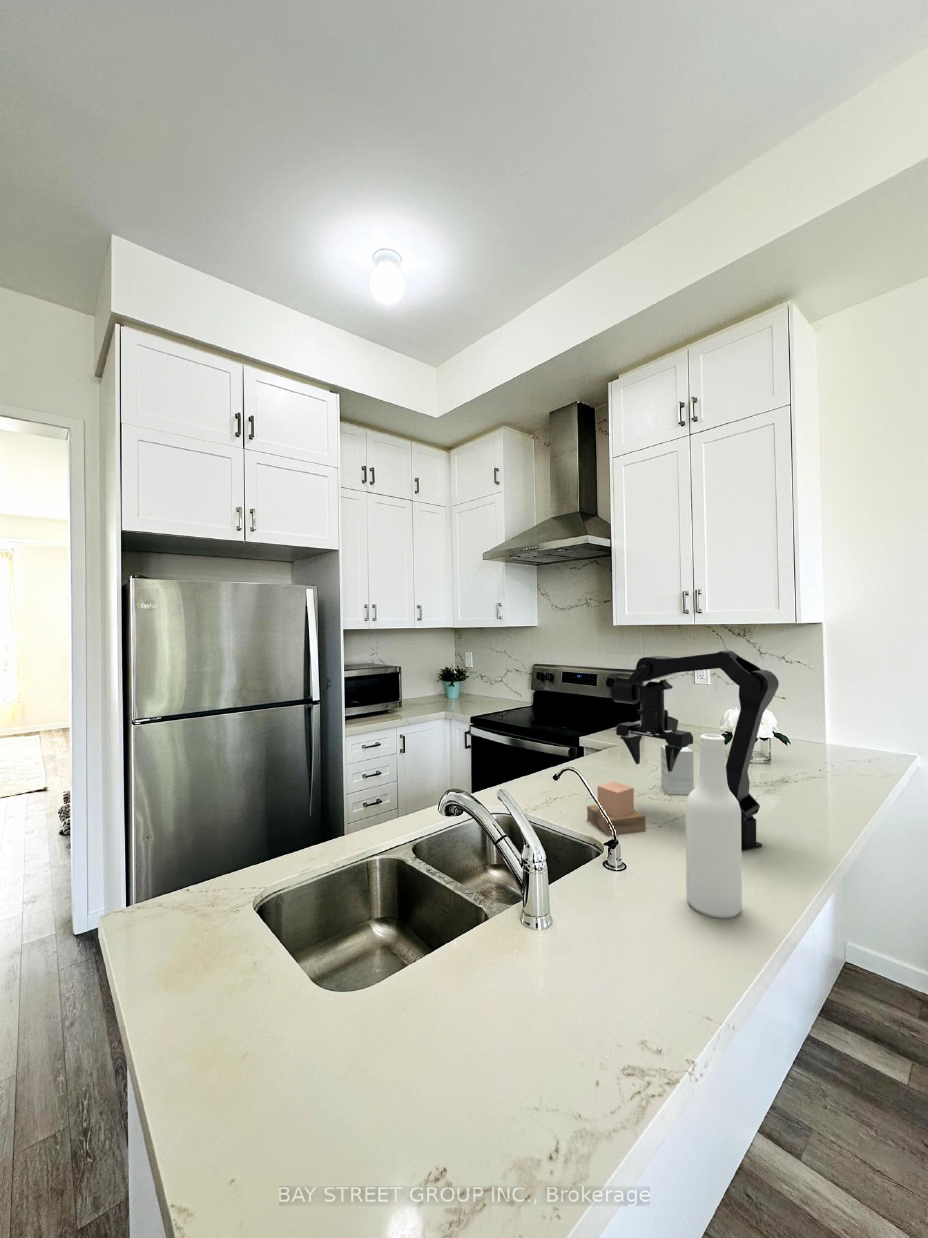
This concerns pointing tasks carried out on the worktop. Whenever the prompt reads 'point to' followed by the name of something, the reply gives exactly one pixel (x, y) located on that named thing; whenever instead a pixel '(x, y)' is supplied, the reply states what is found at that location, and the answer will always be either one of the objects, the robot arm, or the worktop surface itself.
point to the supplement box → (678, 773)
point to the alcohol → (713, 837)
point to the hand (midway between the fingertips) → (653, 767)
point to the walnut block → (617, 822)
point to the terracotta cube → (616, 799)
